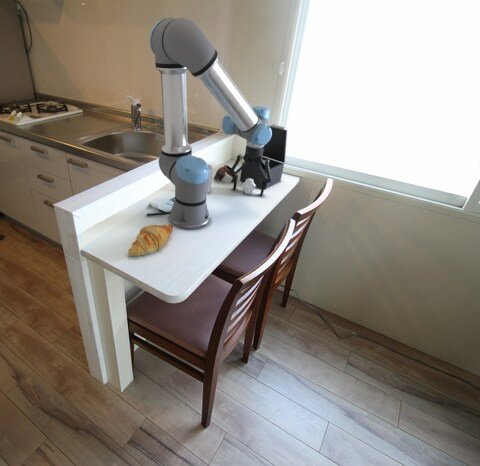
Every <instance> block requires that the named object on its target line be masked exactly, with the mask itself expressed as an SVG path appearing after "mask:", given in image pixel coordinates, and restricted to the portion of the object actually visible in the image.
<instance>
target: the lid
mask: <svg viewBox="0 0 480 466" xmlns="http://www.w3.org/2000/svg"><path fill="white" fill-rule="evenodd" d="M268 126H269V127H270V128H271V130H272V136H271V139H270V140H269V142H268V143H267V144H265V145H264V146H263V147H264V150H263V156H262V157H266V158H269V159H272V160H275V161H278V162H281V163H284V164H285V163H286V155H287V154H286V153H287V139H288V130H287V127H286V126H282V125H277V124H273V123H272V124H271V125H268Z"/></svg>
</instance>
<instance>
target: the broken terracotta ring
mask: <svg viewBox="0 0 480 466" xmlns="http://www.w3.org/2000/svg"><path fill="white" fill-rule="evenodd" d="M231 168H232V167H230V165H227V164H224V165H223V166H221V167H219V168H218V169H217V170H216V172H215V174H214V177H213V178H214V181H215V182H217V181H218V182H222V181H223V180H224V178H225V176H226V175H228V176H229V177H231V178H232V175H231V174H229V171H230V170H231ZM233 172H236V170H234V171H233ZM230 182H231V183H232V180H231V181H230Z"/></svg>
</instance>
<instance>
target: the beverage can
mask: <svg viewBox="0 0 480 466" xmlns="http://www.w3.org/2000/svg"><path fill="white" fill-rule="evenodd" d="M208 171H209V177H208V184H207V194H209V193H211V192H212V181H213V173H214V169H213V166H212V165H211V164H208Z"/></svg>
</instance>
